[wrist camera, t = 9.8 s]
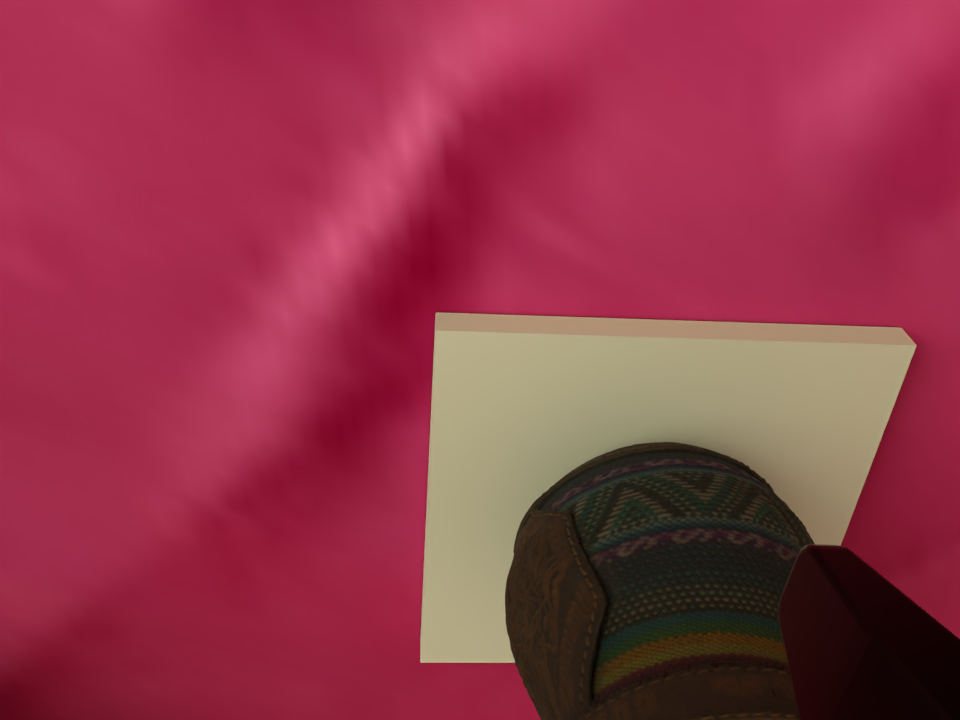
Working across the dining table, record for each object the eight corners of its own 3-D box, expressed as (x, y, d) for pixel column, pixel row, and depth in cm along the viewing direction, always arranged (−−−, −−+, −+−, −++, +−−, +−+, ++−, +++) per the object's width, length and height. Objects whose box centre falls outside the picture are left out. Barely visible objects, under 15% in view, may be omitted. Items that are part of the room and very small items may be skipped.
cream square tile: (787, 641, 28) (796, 663, 27) (420, 640, 27) (420, 662, 26) (901, 327, 22) (916, 345, 21) (435, 312, 21) (436, 330, 20)
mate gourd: (826, 416, 22) (1070, 822, 14) (722, 627, 26) (863, 1038, 18) (533, 379, 21) (606, 794, 13) (473, 605, 25) (498, 1030, 17)
